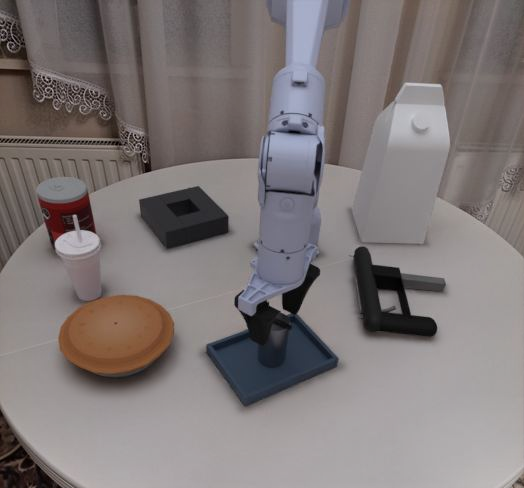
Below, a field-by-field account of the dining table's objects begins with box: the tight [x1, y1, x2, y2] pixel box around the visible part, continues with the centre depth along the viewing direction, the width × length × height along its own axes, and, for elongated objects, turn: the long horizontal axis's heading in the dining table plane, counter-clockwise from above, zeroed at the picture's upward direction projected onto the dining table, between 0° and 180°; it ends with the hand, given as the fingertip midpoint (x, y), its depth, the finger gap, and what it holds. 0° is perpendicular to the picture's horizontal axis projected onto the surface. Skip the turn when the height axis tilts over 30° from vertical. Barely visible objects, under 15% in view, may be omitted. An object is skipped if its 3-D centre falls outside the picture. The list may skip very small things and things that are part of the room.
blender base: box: [138, 185, 229, 250], centre depth 95 cm, size 12×12×4 cm
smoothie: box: [54, 215, 103, 302], centre depth 76 cm, size 6×6×14 cm
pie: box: [57, 294, 175, 378], centre depth 71 cm, size 16×16×5 cm
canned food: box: [35, 176, 98, 252], centre depth 86 cm, size 8×8×11 cm
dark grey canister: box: [257, 312, 293, 367], centre depth 70 cm, size 4×5×7 cm
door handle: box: [348, 245, 447, 338], centre depth 83 cm, size 3×20×16 cm
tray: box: [205, 313, 340, 407], centre depth 72 cm, size 15×11×2 cm
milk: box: [351, 82, 451, 245], centre depth 91 cm, size 12×12×26 cm
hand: (274, 325), depth 68 cm, fingers open, 7 cm apart
